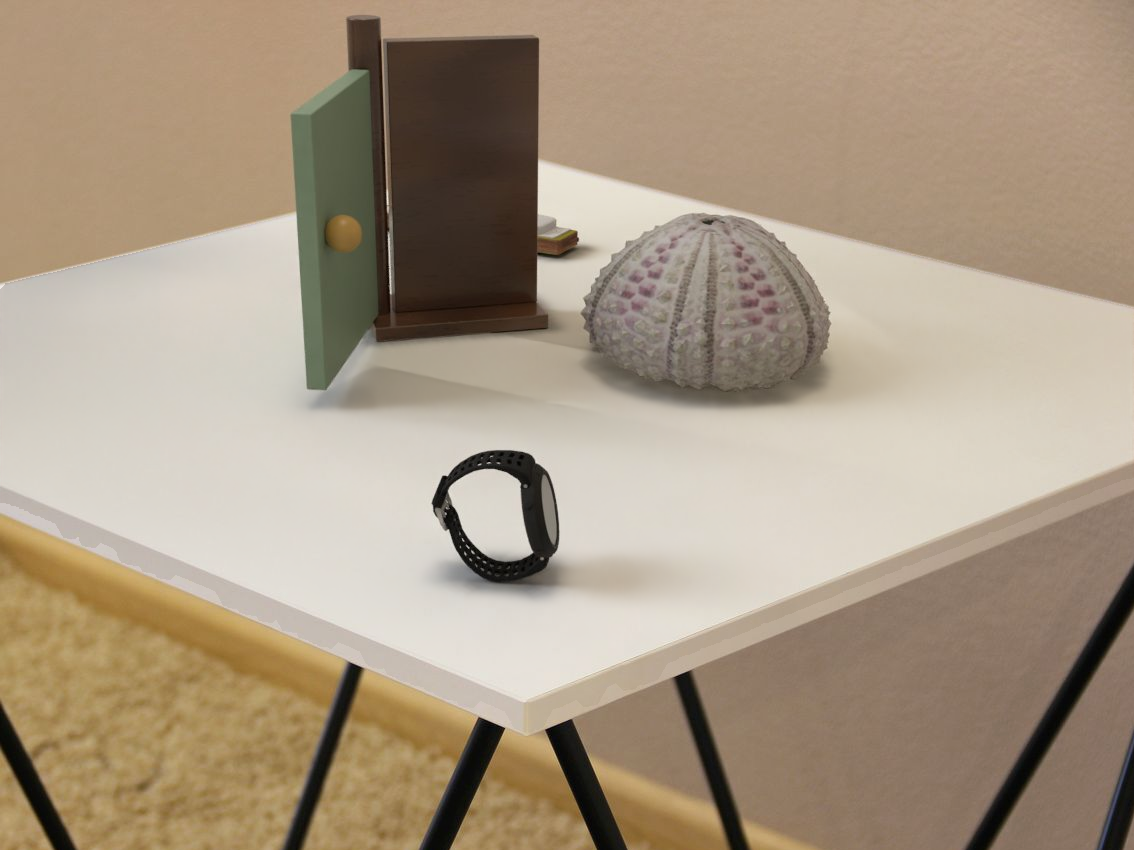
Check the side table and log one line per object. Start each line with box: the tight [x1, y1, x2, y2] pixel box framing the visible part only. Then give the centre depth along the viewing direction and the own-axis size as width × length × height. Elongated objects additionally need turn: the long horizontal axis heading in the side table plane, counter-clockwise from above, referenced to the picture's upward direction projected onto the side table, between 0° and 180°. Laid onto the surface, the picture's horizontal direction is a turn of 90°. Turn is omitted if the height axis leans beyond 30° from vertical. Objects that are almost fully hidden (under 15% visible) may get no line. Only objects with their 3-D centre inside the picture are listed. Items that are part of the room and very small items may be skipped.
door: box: [290, 69, 378, 391], centre depth 78 cm, size 12×3×14 cm, turn 175°
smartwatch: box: [431, 449, 560, 583], centre depth 60 cm, size 4×5×5 cm
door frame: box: [345, 14, 549, 342], centre depth 85 cm, size 10×6×17 cm, turn 108°
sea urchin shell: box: [580, 212, 832, 393], centre depth 81 cm, size 13×14×8 cm
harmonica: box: [387, 204, 580, 256], centre depth 104 cm, size 15×3×2 cm, turn 64°
